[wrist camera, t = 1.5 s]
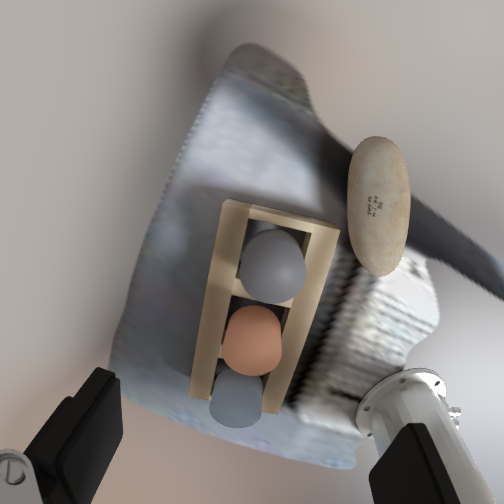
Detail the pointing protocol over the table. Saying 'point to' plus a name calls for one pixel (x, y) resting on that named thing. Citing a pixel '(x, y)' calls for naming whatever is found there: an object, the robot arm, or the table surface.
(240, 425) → the slate button
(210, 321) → the birch board
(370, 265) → the stone
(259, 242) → the charcoal button
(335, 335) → the table surface
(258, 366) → the terracotta button
